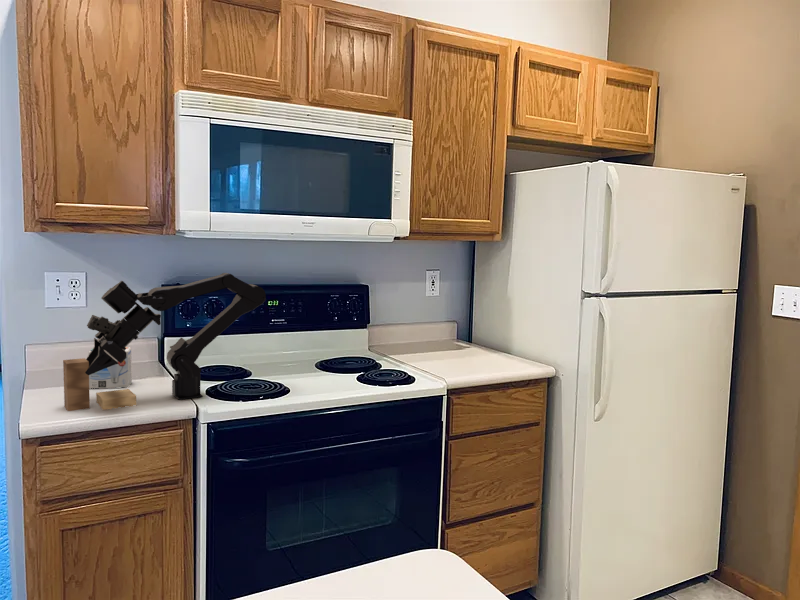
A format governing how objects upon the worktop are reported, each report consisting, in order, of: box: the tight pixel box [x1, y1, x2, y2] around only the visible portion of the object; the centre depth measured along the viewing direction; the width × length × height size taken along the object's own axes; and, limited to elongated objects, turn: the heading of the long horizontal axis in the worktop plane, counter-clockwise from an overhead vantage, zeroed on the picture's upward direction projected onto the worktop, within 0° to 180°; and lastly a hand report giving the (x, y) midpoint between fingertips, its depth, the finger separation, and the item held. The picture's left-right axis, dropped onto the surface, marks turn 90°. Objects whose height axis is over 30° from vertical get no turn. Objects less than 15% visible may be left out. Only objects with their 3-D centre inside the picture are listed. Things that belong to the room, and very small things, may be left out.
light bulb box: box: [88, 346, 133, 390], centre depth 185 cm, size 11×7×11 cm, turn 105°
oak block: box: [95, 388, 137, 411], centre depth 167 cm, size 8×8×3 cm
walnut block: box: [62, 357, 91, 412], centre depth 162 cm, size 5×5×12 cm
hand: (85, 370), depth 163 cm, fingers open, 9 cm apart
